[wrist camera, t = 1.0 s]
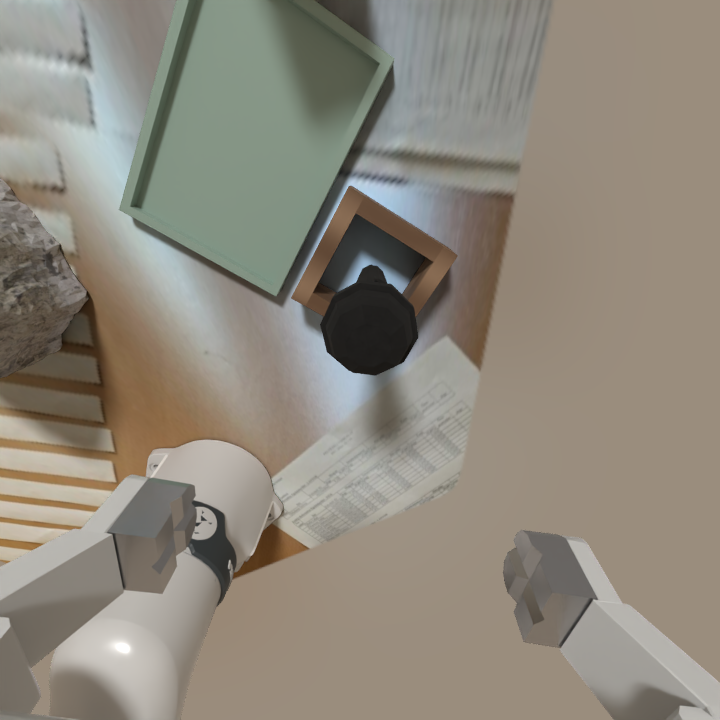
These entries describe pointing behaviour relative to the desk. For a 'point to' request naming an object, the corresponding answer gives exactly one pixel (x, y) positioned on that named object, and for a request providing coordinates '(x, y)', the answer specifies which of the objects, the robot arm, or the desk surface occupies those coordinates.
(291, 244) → the tray
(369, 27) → the desk surface
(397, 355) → the microphone
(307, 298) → the holder
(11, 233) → the petrified wood
